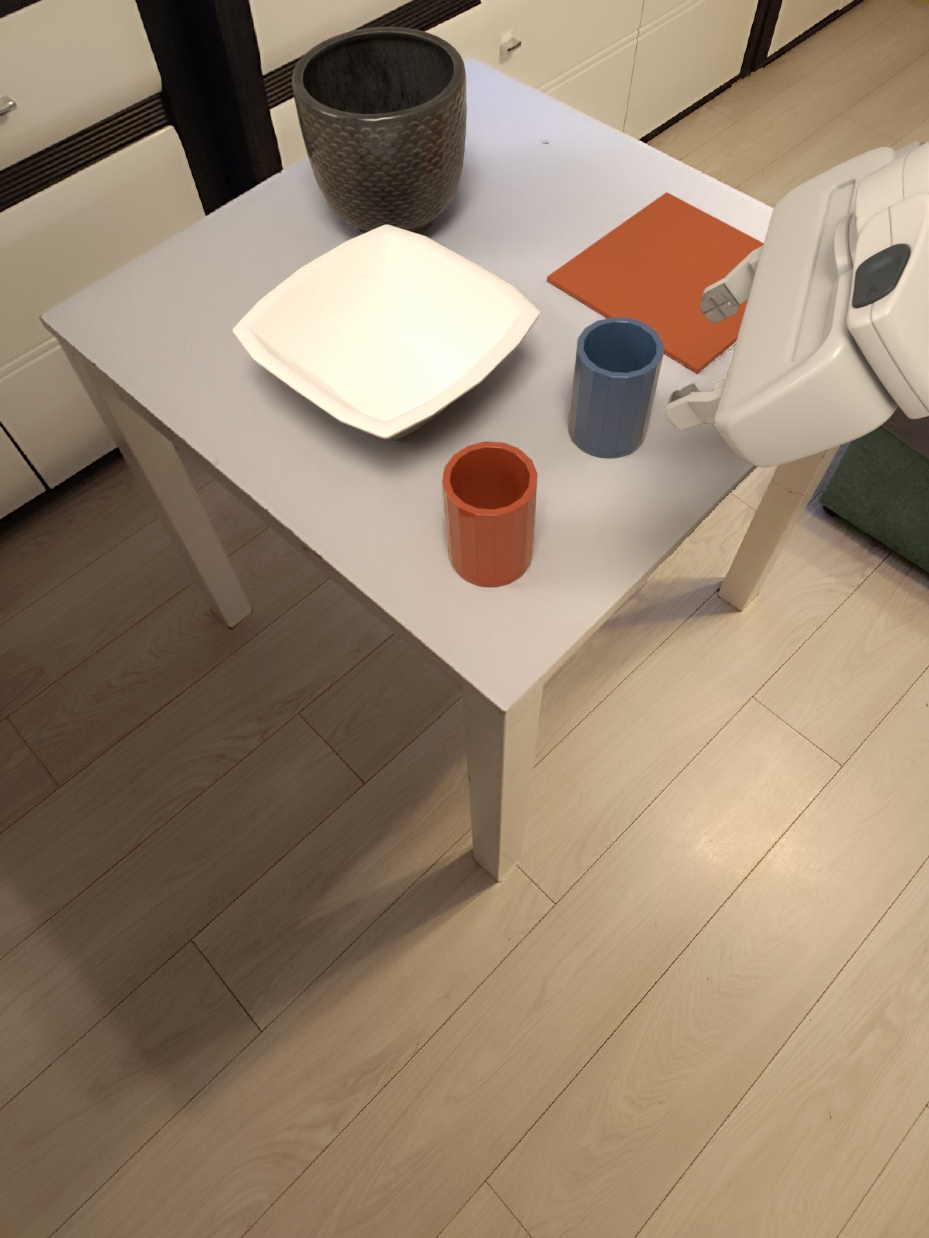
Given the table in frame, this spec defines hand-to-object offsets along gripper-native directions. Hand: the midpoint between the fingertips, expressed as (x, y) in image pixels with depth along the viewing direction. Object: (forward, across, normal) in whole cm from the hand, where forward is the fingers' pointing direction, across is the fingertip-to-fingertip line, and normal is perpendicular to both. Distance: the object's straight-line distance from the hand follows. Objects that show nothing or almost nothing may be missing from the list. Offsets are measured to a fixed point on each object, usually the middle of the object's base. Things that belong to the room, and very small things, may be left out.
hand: (690, 358), depth 52 cm
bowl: (+36, -14, -2) cm, 39 cm away
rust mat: (+20, -38, +14) cm, 45 cm away
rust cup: (+26, +2, +8) cm, 27 cm away
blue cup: (+21, -15, +12) cm, 29 cm away
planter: (+43, -39, -10) cm, 59 cm away
